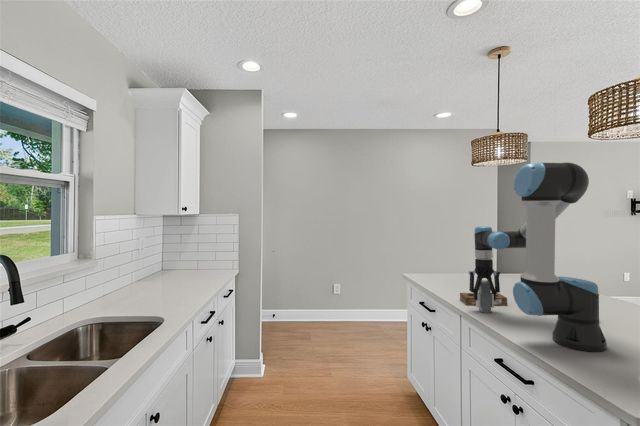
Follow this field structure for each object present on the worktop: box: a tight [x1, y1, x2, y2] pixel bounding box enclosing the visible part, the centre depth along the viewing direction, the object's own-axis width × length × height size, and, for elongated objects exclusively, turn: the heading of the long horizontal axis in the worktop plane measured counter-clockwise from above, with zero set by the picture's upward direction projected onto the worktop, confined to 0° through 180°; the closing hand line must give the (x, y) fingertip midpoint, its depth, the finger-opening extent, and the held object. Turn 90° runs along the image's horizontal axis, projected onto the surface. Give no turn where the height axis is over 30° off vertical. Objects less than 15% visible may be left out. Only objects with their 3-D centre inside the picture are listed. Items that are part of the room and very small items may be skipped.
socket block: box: [459, 292, 508, 307], centre depth 170 cm, size 20×10×4 cm, turn 84°
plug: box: [478, 279, 492, 314], centre depth 155 cm, size 4×4×15 cm
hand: (484, 306), depth 155 cm, fingers open, 6 cm apart
